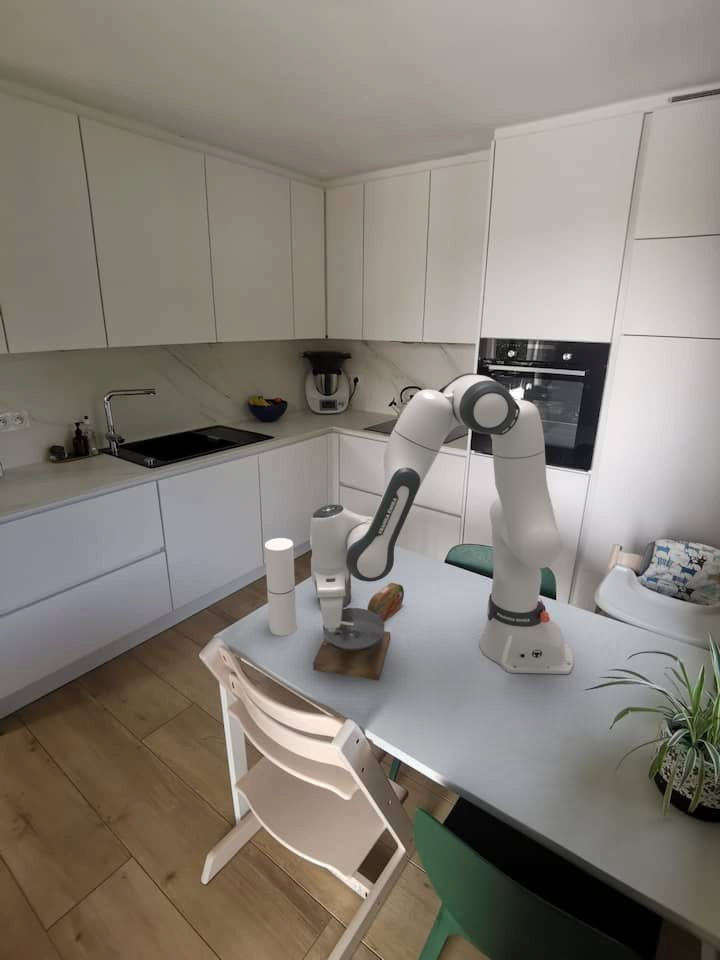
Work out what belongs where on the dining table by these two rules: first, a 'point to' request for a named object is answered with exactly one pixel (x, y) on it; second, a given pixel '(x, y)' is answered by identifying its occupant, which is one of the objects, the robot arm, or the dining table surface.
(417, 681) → the dining table surface
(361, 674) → the brown square flat block
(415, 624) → the dining table surface
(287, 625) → the cylindrical container
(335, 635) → the dark grey round piece
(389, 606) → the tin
